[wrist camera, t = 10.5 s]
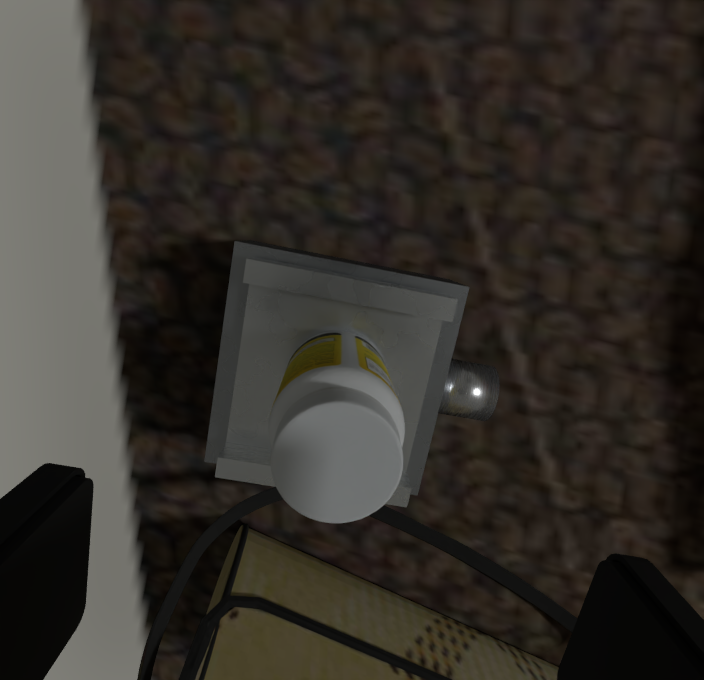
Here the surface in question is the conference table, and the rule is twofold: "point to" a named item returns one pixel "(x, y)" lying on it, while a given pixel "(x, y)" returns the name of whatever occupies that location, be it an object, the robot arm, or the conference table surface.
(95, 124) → the conference table surface
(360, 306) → the grey drawer with knob
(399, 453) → the supplement bottle
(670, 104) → the conference table surface
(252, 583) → the beige handbag
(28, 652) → the robot arm
